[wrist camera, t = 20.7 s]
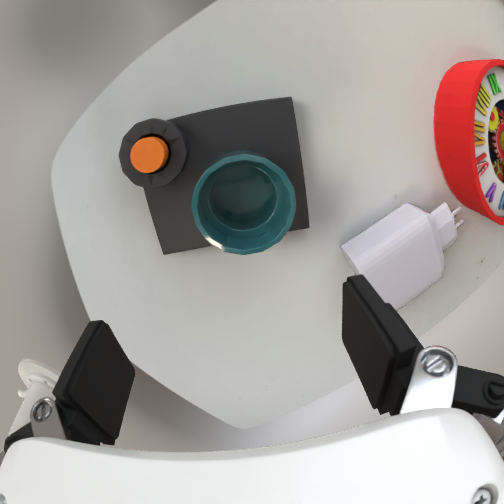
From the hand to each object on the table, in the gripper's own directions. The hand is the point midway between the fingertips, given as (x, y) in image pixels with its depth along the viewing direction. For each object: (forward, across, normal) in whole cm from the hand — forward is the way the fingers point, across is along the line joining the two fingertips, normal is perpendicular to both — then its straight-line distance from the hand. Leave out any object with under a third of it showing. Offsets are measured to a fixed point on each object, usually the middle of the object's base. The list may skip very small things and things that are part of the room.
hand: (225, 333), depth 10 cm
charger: (+17, -19, +7) cm, 26 cm away
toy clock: (+17, -33, -5) cm, 37 cm away
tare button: (+14, +5, -7) cm, 17 cm away
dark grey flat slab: (+17, 0, -3) cm, 17 cm away
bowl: (+16, -2, -2) cm, 16 cm away
